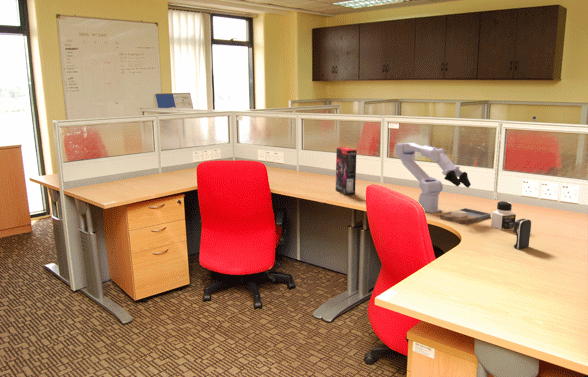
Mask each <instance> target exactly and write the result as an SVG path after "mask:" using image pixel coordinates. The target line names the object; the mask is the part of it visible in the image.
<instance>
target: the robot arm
mask: <svg viewBox="0 0 588 377" xmlns="http://www.w3.org/2000/svg"><path fill="white" fill-rule="evenodd" d="M394 149H395V155H396V156H397V157H398V159H400V161H401V163H402V165H403V166H404V167H405V168H406V170H408V171H409V172H410V173H411V174H412V175H413V177H415V178H416V180H417V181H418V182H419V183H418V184H419V185H418V187H419V188H420V190H421V193H420V194H419V197H418V204H419V203H420V204H421V205H422V207H423V208H424V210H425V211H424V212H426V213H430V214H435V213H438V212H441V211H442V209H439V196H440V194H441V192H442V191H443V188H444V187H443V183H442V181H441V180H438V179H436V178H435V177H432V176H430V175H428V174H427V173H426V171H424V170H423V168H422V167H421V166H420V165H419V164H417V163H416V161H415V160H414V159H415V158H416V152H417V153H420V155H421V156H422V157H425V158H428V159H430V161H432V162H434V163H435V164H437V165H438V166H439V167H440V168H441V170H442V172H441V173H442V174H443V176H445V177H443V178H444V180H446V181H448V182H450V183H451V184H453V185H454V186H455V187H459V186H460V185H461V184H463V186H465V187H466V188H468V189H469V188H470V186H471V184H472V183H471V181H470V180H469V177H468V172H466V171H462V170H461V169H460V168H461V167H460V166H456V165H455V164H454V163H453V162H452V160H451V159H450V158H449V156H447V151H446V150H445V149H444V148H441V147H440V148H437V147H436V146H431V144H426V145H425V144H424V145H420V144H418V143H416V142H410V141H409V142H404V143H403V142H402V143H401V142H398V143H396V145H395V148H394Z"/></svg>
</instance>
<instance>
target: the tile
mask: <svg viewBox="0 0 588 377" xmlns="http://www.w3.org/2000/svg"><path fill="white" fill-rule="evenodd" d="M450 212H451V216H455V217H459V218H462V217H465V216H466V215H467V212H464V211H460V209H457V210H453V211H450Z"/></svg>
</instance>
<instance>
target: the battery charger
mask: <svg viewBox="0 0 588 377" xmlns="http://www.w3.org/2000/svg"><path fill="white" fill-rule="evenodd" d="M512 230H513V233H515V235H516V241H515V244H514V245H513V247H514V248H515V249H517V250H522V249H525V248H527V247H529V245H530V238H531V232H532V231H531V230H532V220H530V219H529V218H521V219H517V220H515V223H514V229H512Z"/></svg>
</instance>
